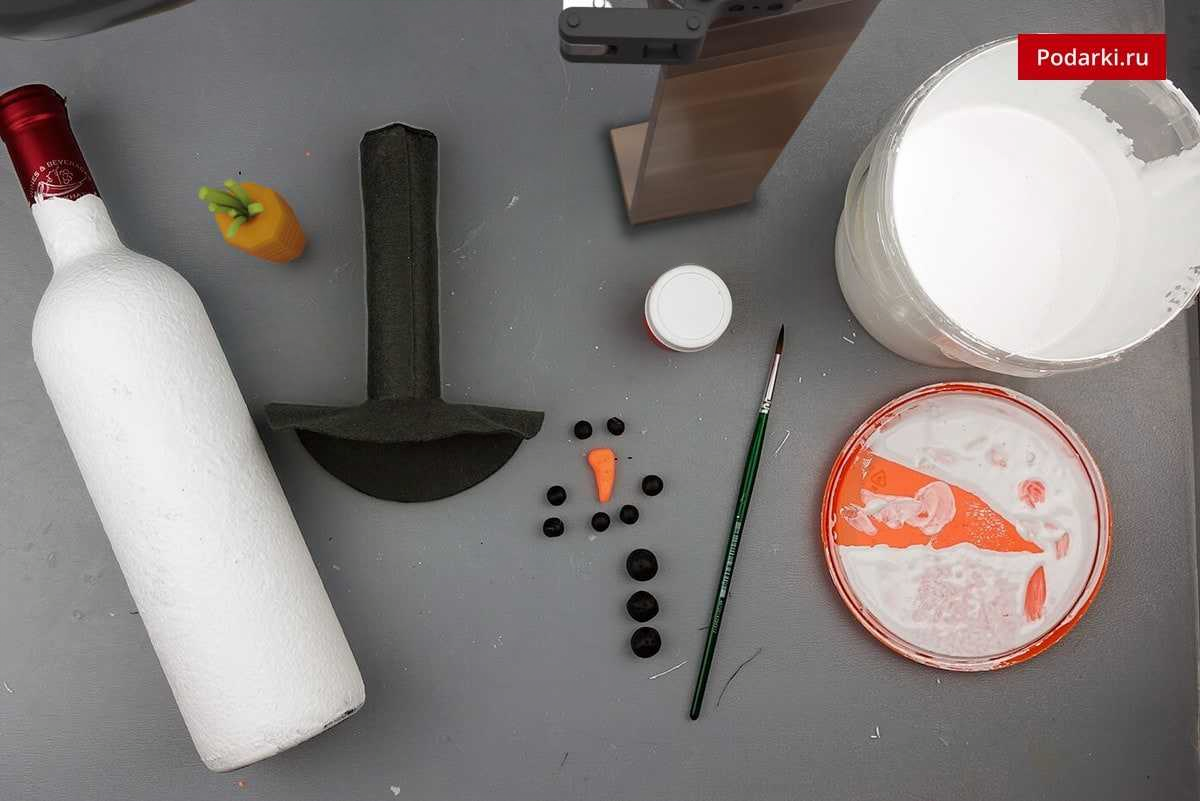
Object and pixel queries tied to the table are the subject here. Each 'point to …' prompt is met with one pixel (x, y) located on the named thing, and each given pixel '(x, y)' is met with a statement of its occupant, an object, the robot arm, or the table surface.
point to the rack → (775, 33)
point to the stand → (717, 133)
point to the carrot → (256, 220)
